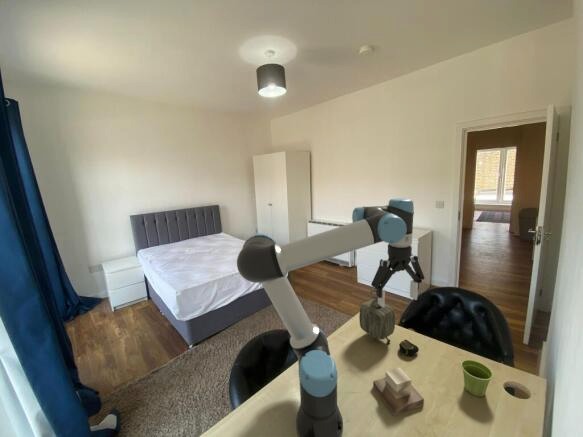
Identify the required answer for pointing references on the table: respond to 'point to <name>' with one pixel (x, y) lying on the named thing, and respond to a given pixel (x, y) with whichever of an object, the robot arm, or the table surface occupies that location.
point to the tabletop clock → (377, 319)
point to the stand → (401, 403)
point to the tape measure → (408, 348)
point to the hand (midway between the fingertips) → (397, 301)
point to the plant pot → (476, 377)
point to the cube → (398, 383)
